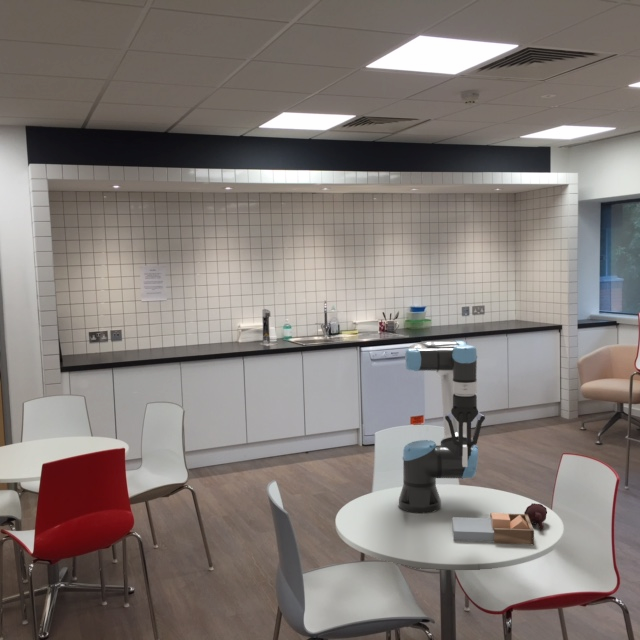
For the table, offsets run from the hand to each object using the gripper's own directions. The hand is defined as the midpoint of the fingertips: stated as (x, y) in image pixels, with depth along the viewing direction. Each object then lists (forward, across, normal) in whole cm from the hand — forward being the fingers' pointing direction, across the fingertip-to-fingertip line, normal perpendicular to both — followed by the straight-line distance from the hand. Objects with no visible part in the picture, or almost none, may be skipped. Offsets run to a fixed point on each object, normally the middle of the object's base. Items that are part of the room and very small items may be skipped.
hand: (464, 465), depth 227 cm
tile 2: (+18, +16, -1) cm, 24 cm away
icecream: (+23, +24, +10) cm, 35 cm away
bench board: (+23, +2, -1) cm, 23 cm away
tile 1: (+20, +11, -1) cm, 23 cm away
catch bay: (+23, +15, -1) cm, 27 cm away
